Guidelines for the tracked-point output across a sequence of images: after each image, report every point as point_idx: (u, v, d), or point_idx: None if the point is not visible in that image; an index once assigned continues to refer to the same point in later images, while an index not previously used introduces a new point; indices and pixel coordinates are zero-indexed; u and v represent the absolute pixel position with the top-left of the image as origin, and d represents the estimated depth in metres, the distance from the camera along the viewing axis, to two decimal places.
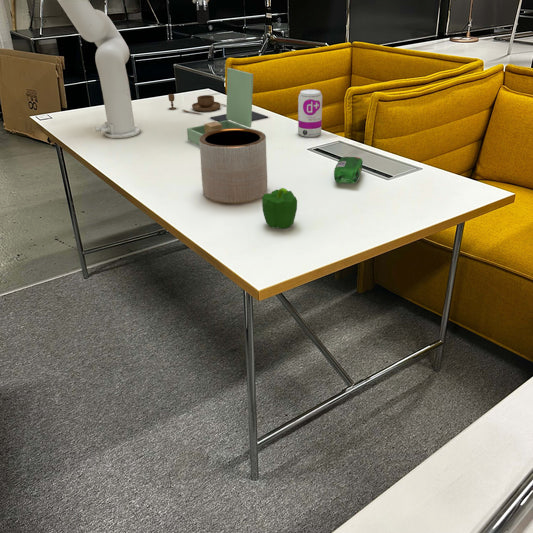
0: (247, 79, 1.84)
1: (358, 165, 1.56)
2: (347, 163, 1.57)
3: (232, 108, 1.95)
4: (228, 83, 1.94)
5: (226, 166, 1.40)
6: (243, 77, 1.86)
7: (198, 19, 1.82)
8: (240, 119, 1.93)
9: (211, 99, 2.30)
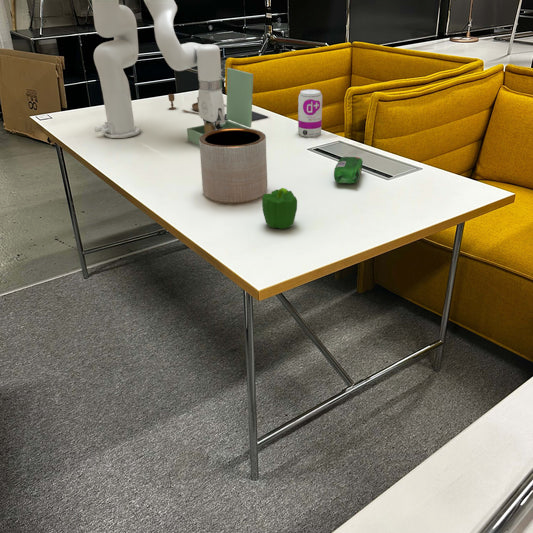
0: (247, 79, 1.84)
1: (358, 165, 1.56)
2: (347, 163, 1.57)
3: (232, 108, 1.95)
4: (228, 83, 1.94)
5: (226, 166, 1.40)
6: (243, 77, 1.86)
7: None
8: (240, 119, 1.93)
9: None
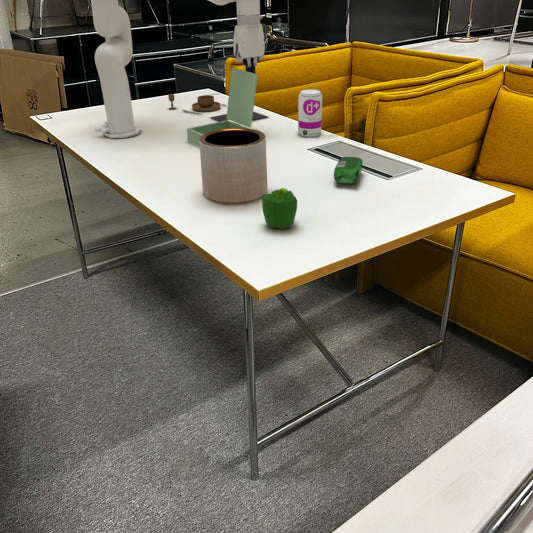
0: (251, 79, 1.85)
1: (358, 165, 1.56)
2: (347, 163, 1.57)
3: (233, 108, 1.95)
4: (231, 83, 1.94)
5: (226, 166, 1.40)
6: (247, 77, 1.87)
7: None
8: (240, 119, 1.93)
9: (211, 99, 2.30)
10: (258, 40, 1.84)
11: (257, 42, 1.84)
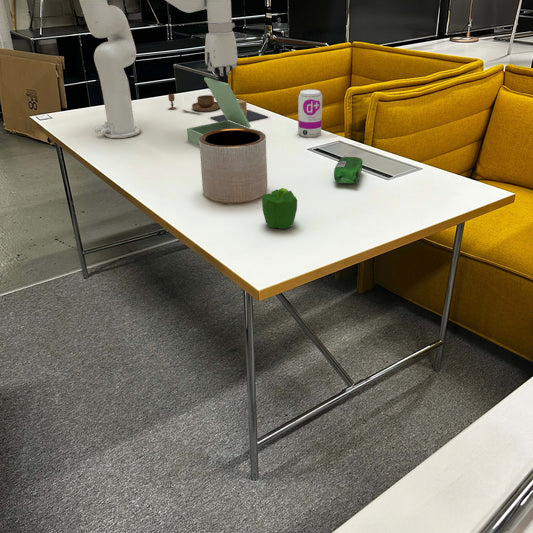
0: (226, 89, 1.81)
1: (358, 165, 1.56)
2: (347, 163, 1.57)
3: (226, 111, 1.94)
4: (212, 91, 1.91)
5: (226, 166, 1.40)
6: (221, 87, 1.82)
7: None
8: (238, 121, 1.93)
9: (211, 99, 2.30)
10: (230, 49, 1.79)
11: (229, 51, 1.79)
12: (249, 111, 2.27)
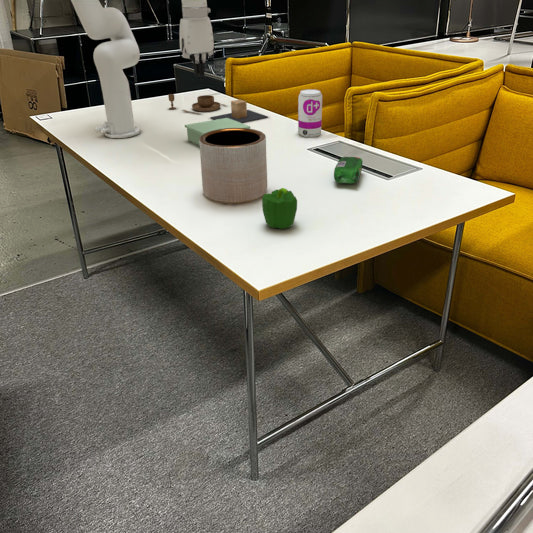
0: None
1: (358, 165, 1.56)
2: (347, 163, 1.57)
3: None
4: None
5: (226, 166, 1.40)
6: None
7: None
8: None
9: (211, 99, 2.30)
10: (206, 35, 1.72)
11: (205, 37, 1.72)
12: (249, 111, 2.27)
